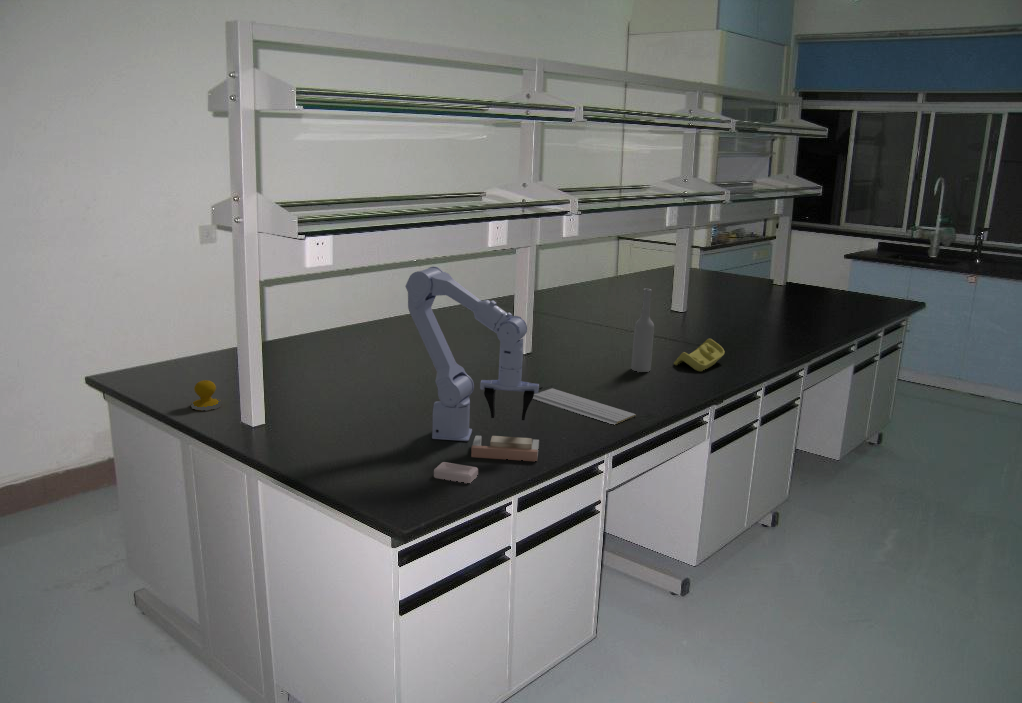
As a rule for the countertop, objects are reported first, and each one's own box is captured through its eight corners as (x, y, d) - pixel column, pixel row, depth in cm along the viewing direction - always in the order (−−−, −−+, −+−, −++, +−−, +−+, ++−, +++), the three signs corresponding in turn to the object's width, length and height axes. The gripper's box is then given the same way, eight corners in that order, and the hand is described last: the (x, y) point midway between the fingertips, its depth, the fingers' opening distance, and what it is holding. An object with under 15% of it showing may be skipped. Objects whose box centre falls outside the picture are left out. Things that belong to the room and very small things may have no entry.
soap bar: (442, 470, 188) (442, 460, 187) (478, 476, 185) (478, 466, 184) (433, 479, 183) (433, 469, 182) (470, 485, 180) (470, 475, 179)
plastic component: (703, 366, 271) (680, 349, 275) (693, 383, 275) (671, 365, 279) (729, 351, 286) (706, 335, 290) (719, 367, 290) (697, 351, 294)
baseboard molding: (610, 429, 218) (635, 419, 227) (611, 419, 218) (636, 409, 226) (525, 401, 238) (551, 392, 247) (526, 391, 238) (552, 383, 246)
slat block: (489, 456, 196) (490, 441, 195) (491, 450, 200) (492, 435, 199) (530, 459, 195) (531, 444, 194) (531, 453, 199) (532, 438, 198)
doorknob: (195, 413, 216) (187, 405, 222) (225, 408, 221) (216, 400, 227) (194, 387, 214) (185, 379, 220) (224, 382, 219) (214, 375, 225)
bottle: (634, 373, 269) (641, 291, 261) (628, 367, 275) (634, 287, 267) (653, 372, 270) (660, 291, 263) (646, 367, 276) (653, 287, 269)
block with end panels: (471, 457, 195) (471, 447, 194) (475, 444, 202) (475, 435, 202) (536, 461, 193) (537, 452, 193) (538, 449, 201) (539, 439, 200)
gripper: (540, 363, 201) (537, 414, 205) (483, 359, 202) (481, 410, 206) (539, 371, 194) (536, 424, 198) (479, 367, 195) (478, 419, 199)
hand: (508, 417), depth 201 cm, fingers open, 7 cm apart
